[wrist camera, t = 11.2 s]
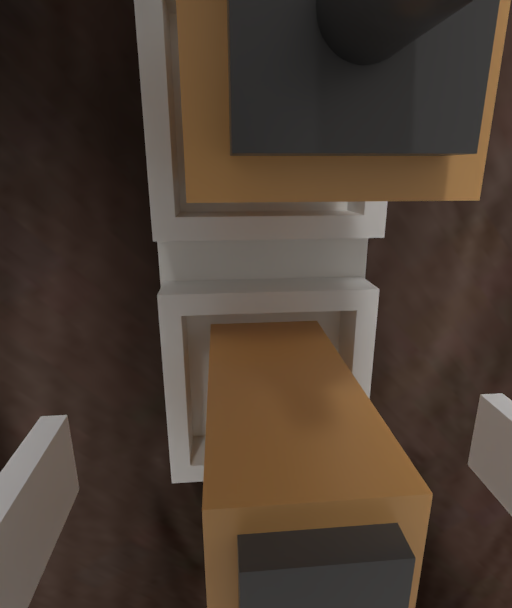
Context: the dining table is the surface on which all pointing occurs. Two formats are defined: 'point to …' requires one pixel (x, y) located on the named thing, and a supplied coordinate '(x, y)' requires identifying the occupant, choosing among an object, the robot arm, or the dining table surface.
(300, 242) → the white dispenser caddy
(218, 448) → the orange capped pillar
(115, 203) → the dining table surface
